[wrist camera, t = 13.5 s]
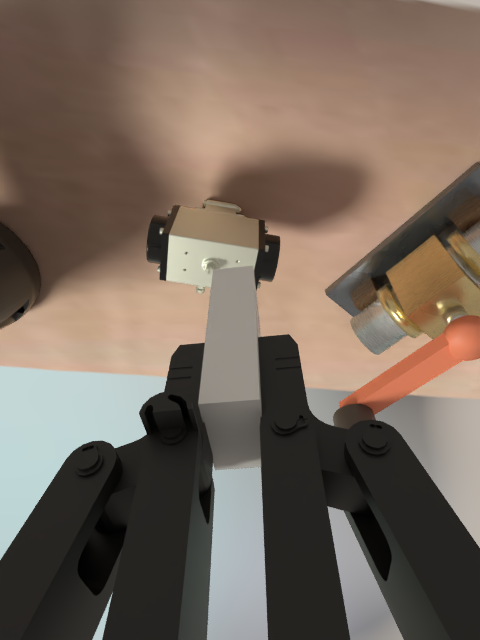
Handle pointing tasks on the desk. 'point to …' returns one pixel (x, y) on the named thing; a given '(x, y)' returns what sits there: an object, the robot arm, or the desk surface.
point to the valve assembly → (418, 271)
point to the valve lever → (412, 371)
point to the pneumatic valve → (210, 244)
